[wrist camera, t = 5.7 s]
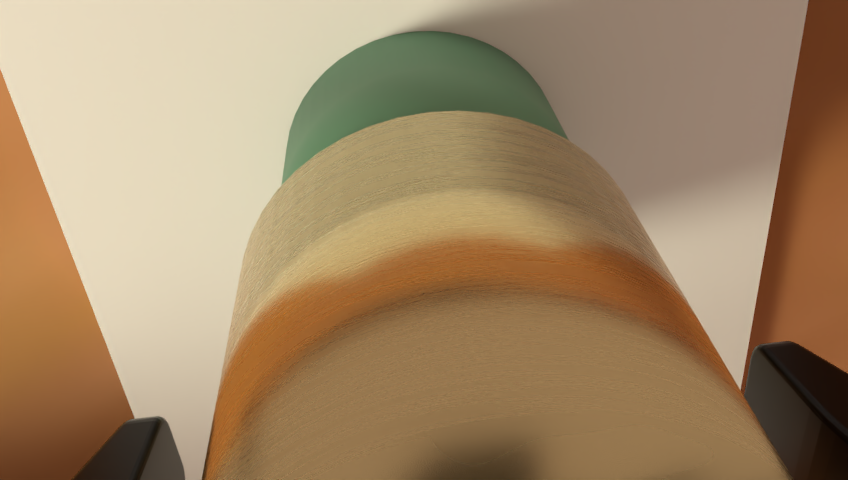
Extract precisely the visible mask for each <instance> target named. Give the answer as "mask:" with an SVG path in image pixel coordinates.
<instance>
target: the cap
mask: <svg viewBox="0 0 848 480" xmlns="http://www.w3.org/2000/svg"><path fill="white" fill-rule="evenodd" d="M202 480H793V478H792V476H791V474H790V473H789V471H788V469H787V468H786V466H785V464H784V463H783V461H782V459H781V458H780V456H779V454H778V453H777V451H776V449H775V448H774V446H773V444H772V443H771V441H770V439H769V437H768V436H767V434H766V432H765V431H764V429H763V427H762V426H761V424H760V422H759V421H758V419H757V417H756V416H755V414H754V412H753V411H752V409H751V407H750V405H749V404H748V402H747V400H746V399H745V397H744V395H743V394H742V392H741V390H740V389H739V387H738V385H737V384H736V382H735V380H734V379H733V377H732V375H731V374H730V372H729V370H728V368H727V367H726V365H725V363H724V362H723V360H722V358H721V357H720V355H719V353H718V352H717V350H716V348H715V347H714V345H713V343H712V342H711V340H710V338H709V336H708V335H707V333H706V331H705V330H704V328H703V326H702V325H701V323H700V321H699V320H698V318H697V316H696V315H695V313H694V311H693V310H692V308H691V306H690V305H689V303H688V301H687V299H686V298H685V296H684V294H683V293H682V291H681V289H680V288H679V286H678V284H677V283H676V281H675V279H674V278H673V276H672V274H671V273H670V271H669V269H668V268H667V266H666V264H665V262H664V261H663V259H662V257H661V256H660V254H659V252H658V251H657V249H656V247H655V246H654V244H653V242H652V241H651V239H650V237H649V236H648V234H647V232H646V230H645V229H644V227H643V225H642V224H641V222H640V220H639V219H638V217H637V215H636V214H635V212H634V210H633V209H632V207H631V205H630V204H629V202H628V200H627V199H626V197H625V195H624V193H623V192H622V190H621V189H620V187H619V186H618V185H617V184H616V182H615V181H614V180H613V178H612V177H611V176H610V175H609V173H608V172H607V171H606V170H605V169H604V168H603V167H602V166H601V165H600V164H599V163H598V162H597V161H596V160H594V159H593V158H592V157H591V156H590V155H589V154H588V153H586V152H585V151H584V150H582V149H581V148H579V147H578V146H576V145H575V144H573V143H572V142H571V141H569V140H568V139H566V138H564V137H562V136H560V135H558V134H556V133H554V132H552V131H550V130H548V129H546V128H544V127H541V126H538V125H535V124H532V123H529V122H526V121H523V120H520V119H517V118H513V117H508V116H503V115H498V114H493V113H487V112H472V111H440V112H426V113H420V114H415V115H409V116H403V117H398V118H395V119H391V120H388V121H385V122H381V123H378V124H375V125H372V126H369V127H366V128H364V129H362V130H360V131H357V132H355V133H353V134H351V135H348V136H346V137H344V138H342V139H340V140H339V141H337V142H335V143H334V144H332V145H330V146H329V147H327V148H325V149H324V150H322V151H320V152H319V153H317V154H316V155H315V156H313V157H312V158H311V159H310V160H308V161H307V162H306V163H305V164H303V165H302V166H301V167H300V168H298V169H297V170H296V171H295V172H294V173H293V174H292V175H291V176H290V177H289V178H288V179H287V180H286V181H285V182H284V183H283V184H282V186H281V187H280V188H279V189H278V190H277V191H276V192H275V194H274V195H273V197H272V198H271V199H270V201H269V202H268V204H267V205H266V206H265V208H264V209H263V211H262V212H261V214H260V216H259V218H258V220H257V222H256V224H255V226H254V228H253V230H252V232H251V234H250V238H249V241H248V244H247V247H246V250H245V253H244V256H243V262H242V267H241V272H240V278H239V283H238V288H237V294H236V299H235V304H234V310H233V315H232V320H231V326H230V331H229V336H228V341H227V347H226V352H225V357H224V363H223V368H222V373H221V379H220V384H219V389H218V395H217V400H216V405H215V411H214V416H213V421H212V427H211V432H210V437H209V443H208V448H207V453H206V459H205V464H204V469H203V475H202Z"/></svg>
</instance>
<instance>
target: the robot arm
mask: <svg viewBox="0 0 848 480" xmlns="http://www.w3.org/2000/svg"><path fill="white" fill-rule="evenodd" d="M744 397H745V399H746V400H747V402H748V404H749V405H750V407H751V409H752V411H753V412H754V414H755V416H756V417H757V419H758V421H759V422H760V424H761V426H762V427H763V429H764V431H765V432H766V434H767V436H768V437H769V439H770V441H771V443H772V444H773V446H774V448H775V449H776V451H777V453H778V454H779V456H780V458H781V459H782V461H783V463H784V464H785V466H786V468H787V469H788V471H789V473H790V474H791V476H792V478H793V480H848V373H846V372H844V371H843V370H841V369H839V368H838V367H836V366H834V365H833V364H831V363H829V362H827V361H826V360H824V359H822V358H821V357H819V356H817V355H816V354H814V353H812V352H811V351H809V350H807V349H805V348H804V347H802V346H800V345H799V344H797V343H794V342H791V341H783V342H775V343H767V344H760V345H758V346H756V347H755V348H754V350H753V352H752V355H751V360H750V366H749V371H748V377H747V382H746V388H745V393H744ZM72 480H185V472H184V467H183V463H182V460H181V458H180V455H179V452H178V449H177V446H176V443H175V441H174V438H173V435H172V432H171V429H170V426H169V424H168V422H167V421H166V420H165V418H163V417H160V416H153V417H145V418H137V419H131V420H128V421H126V422H125V423H123V424H122V425H121V426H120V427H119V428H118V429H117V430H116V432H115V433H114V434H113V435H112V436H111V437H110V438H109V439H108V440H107V441H106V442H105V444H104V445H103V446H102V447H101V448H100V449H99V450H98V451H97V452H96V453H95V454H94V456H93V457H92V458H91V459H90V460H89V461H88V462H87V463H86V464H85V465H84V466H83V468H82V469H81V470H80V471H79V472H78V473H77V474H76V475H75V476H74V477H73V478H72Z"/></svg>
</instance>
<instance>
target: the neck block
mask: <svg viewBox="0 0 848 480" xmlns="http://www.w3.org/2000/svg"><path fill="white" fill-rule="evenodd" d="M808 1H809V0H0V69H1V72H2V74H3V77H4V79H5V82H6V85H7V87H8V90H9V92H10V95H11V98H12V100H13V103H14V105H15V108H16V111H17V113H18V116H19V118H20V121H21V124H22V126H23V129H24V131H25V134H26V137H27V139H28V142H29V144H30V147H31V150H32V152H33V155H34V157H35V160H36V163H37V165H38V168H39V170H40V173H41V176H42V178H43V181H44V183H45V186H46V189H47V191H48V194H49V196H50V199H51V202H52V204H53V207H54V209H55V212H56V215H57V217H58V220H59V222H60V225H61V228H62V230H63V233H64V235H65V238H66V241H67V243H68V246H69V249H70V251H71V254H72V256H73V259H74V262H75V264H76V267H77V269H78V272H79V275H80V277H81V280H82V282H83V285H84V288H85V290H86V293H87V295H88V298H89V301H90V303H91V306H92V308H93V311H94V314H95V316H96V319H97V321H98V324H99V327H100V329H101V332H102V334H103V337H104V340H105V342H106V345H107V347H108V350H109V353H110V355H111V358H112V360H113V363H114V366H115V368H116V371H117V373H118V376H119V379H120V381H121V384H122V386H123V389H124V392H125V394H126V397H127V399H128V402H129V405H130V407H131V410H132V412H133V415H134V418H135V419H137V418H145V417H153V416H160V417H163V418H165V420H166V421H167V422H168V424H169V426H170V429H171V432H172V435H173V438H174V441H175V443H176V446H177V449H178V452H179V455H180V458H181V460H182V463H183V467H184V472H185V480H202V475H203V469H204V464H205V459H206V453H207V448H208V443H209V437H210V432H211V427H212V421H213V416H214V411H215V405H216V400H217V395H218V389H219V384H220V379H221V373H222V368H223V363H224V357H225V352H226V347H227V341H228V336H229V331H230V326H231V320H232V315H233V310H234V304H235V299H236V294H237V288H238V283H239V278H240V272H241V267H242V262H243V256H244V253H245V250H246V247H247V244H248V241H249V238H250V234H251V232H252V230H253V228H254V226H255V224H256V222H257V220H258V218H259V216H260V214H261V212H262V211H263V209H264V208H265V206H266V205H267V204H268V202H269V201H270V199H271V198H272V197H273V195H274V194H275V192H276V191H277V190H278V189H279V188H280V187H281V186H282V184H283V183H284V182H285V181H286V180H287V179H288V178H289V177H290V176H291V175H292V174H293V173H294V172H295V171H296V170H297V169H298V168H300V167H301V166H302V165H303V164H305V163H306V162H307V161H308V160H310V159H311V158H312V157H313V156H315V155H316V154H317V153H319V152H320V151H322V150H324V149H325V148H327V147H329V146H330V145H332V144H334V143H335V142H337V141H339V140H340V139H342V138H344V137H346V136H348V135H351V134H353V133H355V132H357V131H360V130H362V129H364V128H366V127H369V126H372V125H375V124H378V123H381V122H385V121H388V120H391V119H395V118H398V117H403V116H409V115H415V114H420V113H426V112H440V111H472V112H487V113H493V114H498V115H503V116H508V117H513V118H517V119H520V120H523V121H526V122H529V123H532V124H535V125H538V126H541V127H544V128H546V129H548V130H550V131H552V132H554V133H556V134H558V135H560V136H562V137H564V138H566V139H568V140H569V141H571V142H572V143H573V144H575V145H576V146H578V147H579V148H581V149H582V150H584V151H585V152H586V153H588V154H589V155H590V156H591V157H592V158H593V159H594V160H596V161H597V162H598V163H599V164H600V165H601V166H602V167H603V168H604V169H605V170H606V171H607V172H608V173H609V175H610V176H611V177H612V178H613V180H614V181H615V182H616V184H617V185H618V186H619V187H620V189H621V190H622V192H623V193H624V195H625V197H626V199H627V200H628V202H629V204H630V205H631V207H632V209H633V210H634V212H635V214H636V215H637V217H638V219H639V220H640V222H641V224H642V225H643V227H644V229H645V230H646V232H647V234H648V236H649V237H650V239H651V241H652V242H653V244H654V246H655V247H656V249H657V251H658V252H659V254H660V256H661V257H662V259H663V261H664V262H665V264H666V266H667V268H668V269H669V271H670V273H671V274H672V276H673V278H674V279H675V281H676V283H677V284H678V286H679V288H680V289H681V291H682V293H683V294H684V296H685V298H686V299H687V301H688V303H689V305H690V306H691V308H692V310H693V311H694V313H695V315H696V316H697V318H698V320H699V321H700V323H701V325H702V326H703V328H704V330H705V331H706V333H707V335H708V336H709V338H710V340H711V342H712V343H713V345H714V347H715V348H716V350H717V352H718V353H719V355H720V357H721V358H722V360H723V362H724V363H725V365H726V367H727V368H728V370H729V372H730V374H731V375H732V377H733V379H734V380H735V382H736V384H737V385H738V387H739V389H740V390H741V385H742V379H743V373H744V368H745V362H746V356H747V350H748V345H749V339H750V333H751V328H752V322H753V316H754V310H755V305H756V299H757V293H758V288H759V282H760V276H761V270H762V265H763V259H764V253H765V247H766V242H767V236H768V230H769V225H770V219H771V213H772V207H773V202H774V196H775V190H776V184H777V179H778V173H779V167H780V162H781V156H782V150H783V144H784V139H785V133H786V127H787V121H788V116H789V110H790V104H791V99H792V93H793V87H794V81H795V76H796V70H797V64H798V58H799V53H800V47H801V41H802V36H803V30H804V24H805V18H806V13H807V7H808Z"/></svg>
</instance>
